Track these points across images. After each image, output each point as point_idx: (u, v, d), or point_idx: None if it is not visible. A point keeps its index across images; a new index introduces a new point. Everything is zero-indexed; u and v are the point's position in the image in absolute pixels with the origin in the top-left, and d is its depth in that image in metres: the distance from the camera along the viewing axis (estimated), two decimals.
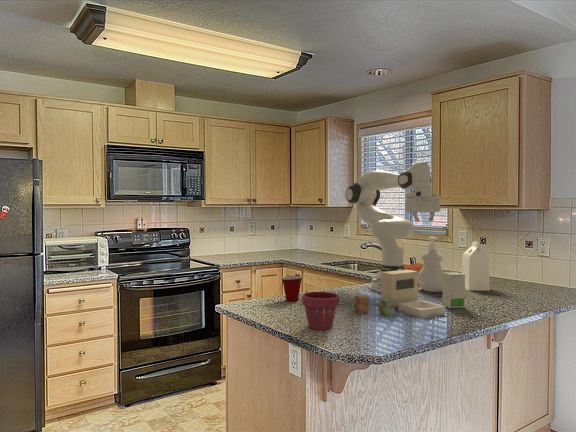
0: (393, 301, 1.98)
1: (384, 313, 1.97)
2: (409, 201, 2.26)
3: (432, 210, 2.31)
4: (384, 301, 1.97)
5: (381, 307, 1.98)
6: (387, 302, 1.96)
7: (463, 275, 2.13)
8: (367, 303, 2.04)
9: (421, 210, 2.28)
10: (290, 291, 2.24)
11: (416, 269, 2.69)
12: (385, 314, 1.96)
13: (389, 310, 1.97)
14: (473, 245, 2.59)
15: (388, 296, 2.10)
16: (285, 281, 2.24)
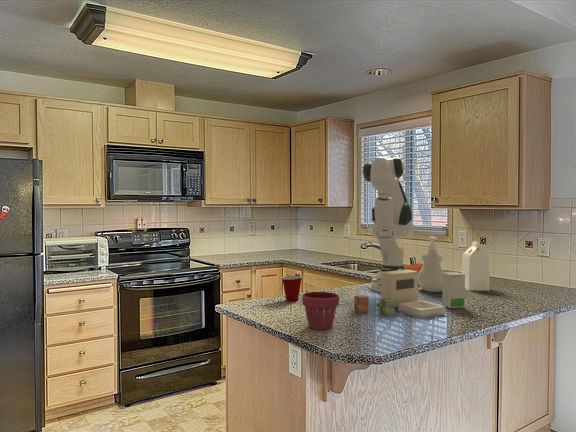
0: (393, 301, 1.98)
1: (384, 313, 1.97)
2: (386, 242, 1.99)
3: None
4: (384, 301, 1.97)
5: (381, 307, 1.98)
6: (387, 302, 1.96)
7: (463, 275, 2.13)
8: (367, 303, 2.04)
9: None
10: (290, 291, 2.24)
11: (416, 269, 2.69)
12: (385, 314, 1.96)
13: (389, 310, 1.97)
14: (473, 245, 2.59)
15: (388, 296, 2.10)
16: (285, 281, 2.24)
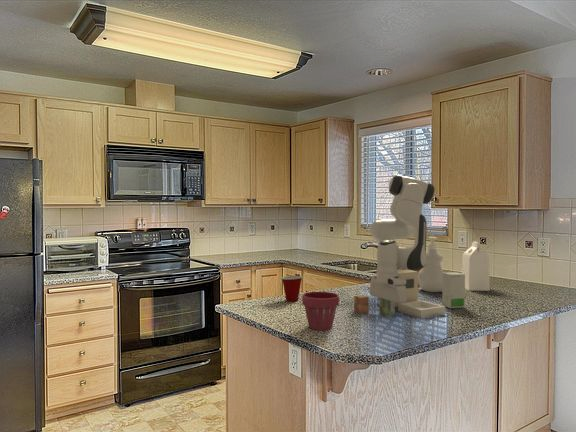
0: None
1: (384, 313, 1.97)
2: (403, 290, 1.90)
3: None
4: (384, 301, 1.97)
5: (381, 307, 1.98)
6: (387, 302, 1.96)
7: (463, 275, 2.13)
8: (367, 303, 2.04)
9: None
10: (290, 291, 2.24)
11: None
12: (385, 314, 1.96)
13: None
14: (473, 245, 2.59)
15: None
16: (285, 281, 2.24)
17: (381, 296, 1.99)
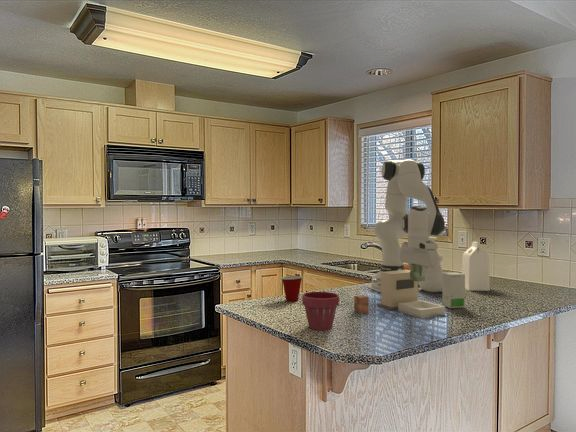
0: None
1: (415, 278, 2.00)
2: (435, 255, 1.94)
3: None
4: (415, 266, 2.00)
5: (412, 272, 2.02)
6: (418, 267, 1.99)
7: (463, 275, 2.13)
8: (367, 303, 2.04)
9: None
10: (290, 291, 2.24)
11: None
12: (416, 278, 2.00)
13: None
14: (473, 245, 2.59)
15: (388, 296, 2.10)
16: (285, 281, 2.24)
17: (412, 261, 2.02)
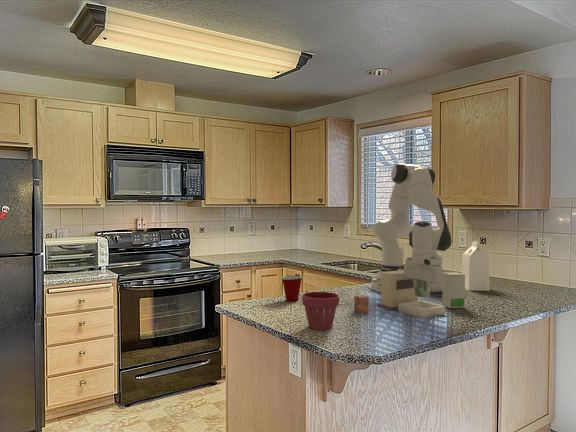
0: None
1: (420, 293, 2.01)
2: (440, 270, 1.94)
3: None
4: (420, 281, 2.00)
5: (417, 288, 2.02)
6: (423, 282, 2.00)
7: (463, 275, 2.13)
8: (367, 303, 2.04)
9: None
10: (290, 291, 2.24)
11: None
12: (421, 294, 2.00)
13: None
14: (473, 245, 2.59)
15: (388, 296, 2.10)
16: (285, 281, 2.24)
17: (416, 277, 2.03)
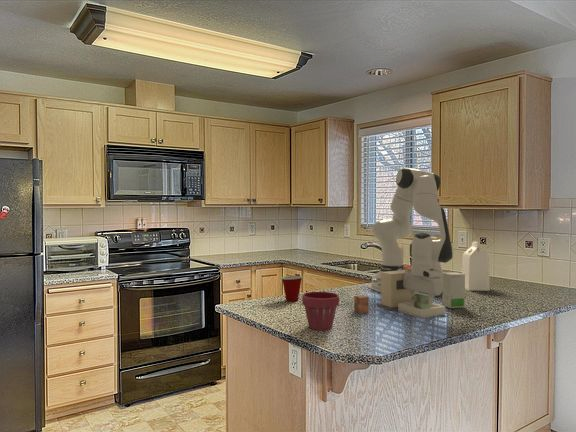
0: (427, 296, 2.02)
1: None
2: (439, 283, 1.94)
3: None
4: (419, 296, 2.01)
5: (416, 302, 2.02)
6: (422, 297, 2.00)
7: (463, 275, 2.13)
8: (367, 303, 2.04)
9: None
10: (290, 291, 2.24)
11: None
12: None
13: (424, 305, 2.01)
14: (473, 245, 2.59)
15: (388, 296, 2.10)
16: (285, 281, 2.24)
17: (415, 288, 2.03)
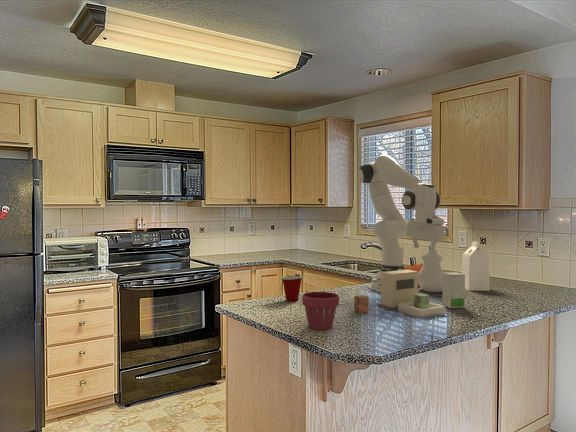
0: (427, 296, 2.02)
1: None
2: (441, 229, 2.02)
3: None
4: (419, 296, 2.01)
5: (416, 302, 2.02)
6: (422, 297, 2.00)
7: (463, 275, 2.13)
8: (367, 303, 2.04)
9: None
10: (290, 291, 2.24)
11: (418, 270, 2.66)
12: None
13: (424, 305, 2.01)
14: (473, 245, 2.59)
15: (388, 296, 2.10)
16: (285, 281, 2.24)
17: (418, 236, 2.11)
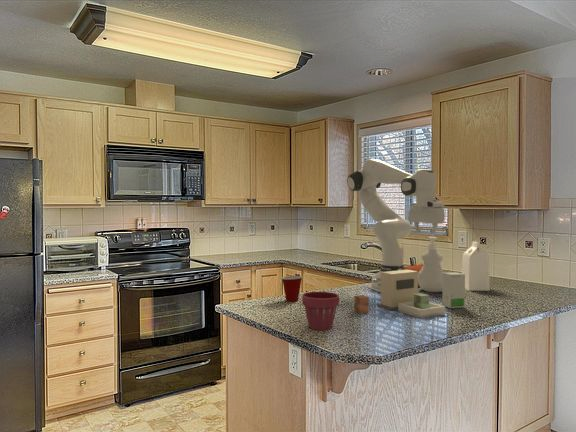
0: (427, 296, 2.02)
1: None
2: (442, 212, 2.10)
3: None
4: (419, 296, 2.01)
5: (416, 302, 2.02)
6: (422, 297, 2.00)
7: (463, 275, 2.13)
8: (367, 303, 2.04)
9: None
10: (290, 291, 2.24)
11: (418, 270, 2.65)
12: None
13: (424, 305, 2.01)
14: (473, 245, 2.59)
15: (388, 296, 2.10)
16: (285, 281, 2.24)
17: (420, 220, 2.19)
